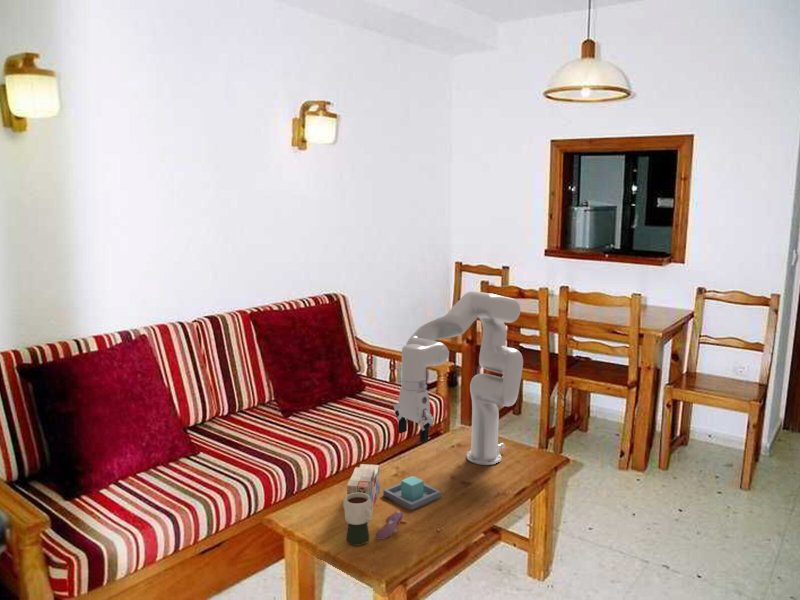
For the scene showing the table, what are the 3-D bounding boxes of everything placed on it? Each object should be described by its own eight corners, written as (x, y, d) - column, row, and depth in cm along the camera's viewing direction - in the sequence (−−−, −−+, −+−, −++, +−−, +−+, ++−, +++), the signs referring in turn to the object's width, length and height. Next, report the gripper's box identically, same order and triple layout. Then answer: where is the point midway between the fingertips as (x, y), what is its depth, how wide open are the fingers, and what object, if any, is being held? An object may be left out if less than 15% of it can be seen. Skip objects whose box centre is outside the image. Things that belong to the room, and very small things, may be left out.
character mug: (380, 543, 181) (380, 499, 179) (362, 553, 176) (362, 509, 173) (352, 529, 188) (352, 487, 186) (334, 539, 183) (334, 496, 180)
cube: (412, 490, 211) (412, 475, 211) (423, 495, 208) (423, 481, 207) (401, 495, 208) (401, 480, 207) (412, 500, 204) (412, 485, 204)
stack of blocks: (360, 490, 212) (360, 454, 210) (379, 491, 211) (380, 456, 209) (346, 523, 191) (346, 484, 189) (367, 525, 191) (367, 486, 188)
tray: (412, 483, 217) (412, 477, 217) (441, 497, 208) (441, 491, 207) (383, 495, 208) (383, 489, 208) (411, 510, 199) (411, 504, 199)
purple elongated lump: (387, 546, 182) (397, 528, 180) (373, 537, 183) (384, 518, 181) (398, 529, 191) (409, 511, 189) (385, 520, 192) (396, 502, 190)
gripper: (442, 388, 198) (441, 441, 201) (403, 375, 210) (403, 426, 213) (424, 393, 193) (424, 448, 196) (386, 380, 205) (385, 431, 208)
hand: (413, 436), depth 205 cm, fingers open, 9 cm apart
